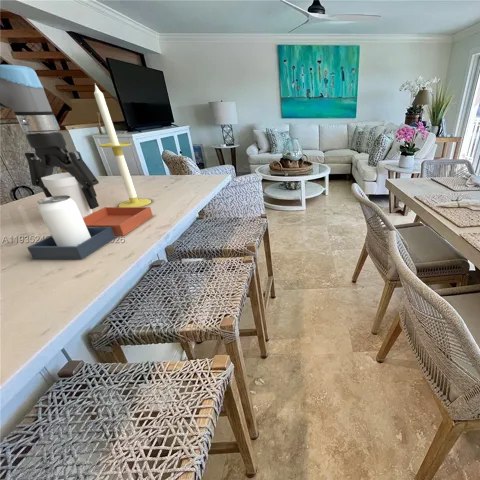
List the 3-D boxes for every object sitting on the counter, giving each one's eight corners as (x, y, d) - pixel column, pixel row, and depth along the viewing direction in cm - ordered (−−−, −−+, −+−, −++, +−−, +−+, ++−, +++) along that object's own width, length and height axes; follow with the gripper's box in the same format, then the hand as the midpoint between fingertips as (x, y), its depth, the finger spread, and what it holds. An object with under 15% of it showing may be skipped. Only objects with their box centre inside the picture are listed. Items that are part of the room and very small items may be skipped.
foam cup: (60, 216, 84) (40, 175, 78) (96, 209, 90) (80, 170, 84) (62, 224, 78) (41, 181, 72) (101, 216, 84) (84, 175, 78)
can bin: (33, 259, 61) (26, 247, 59) (73, 237, 71) (68, 227, 69) (82, 259, 61) (76, 247, 59) (115, 237, 71) (111, 226, 69)
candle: (119, 210, 89) (71, 81, 72) (117, 202, 96) (74, 83, 79) (152, 204, 94) (116, 82, 77) (149, 197, 101) (114, 84, 84)
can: (52, 250, 63) (26, 202, 58) (79, 238, 69) (59, 193, 63) (73, 253, 62) (48, 204, 57) (99, 240, 68) (79, 195, 62)
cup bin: (71, 235, 72) (66, 225, 70) (108, 216, 84) (105, 207, 83) (123, 235, 72) (119, 225, 70) (153, 216, 84) (150, 207, 83)
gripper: (-15, 133, 69) (28, 212, 80) (73, 133, 70) (104, 211, 80) (15, 131, 76) (50, 203, 86) (95, 130, 76) (121, 203, 86)
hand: (76, 207), depth 83 cm, fingers open, 11 cm apart
